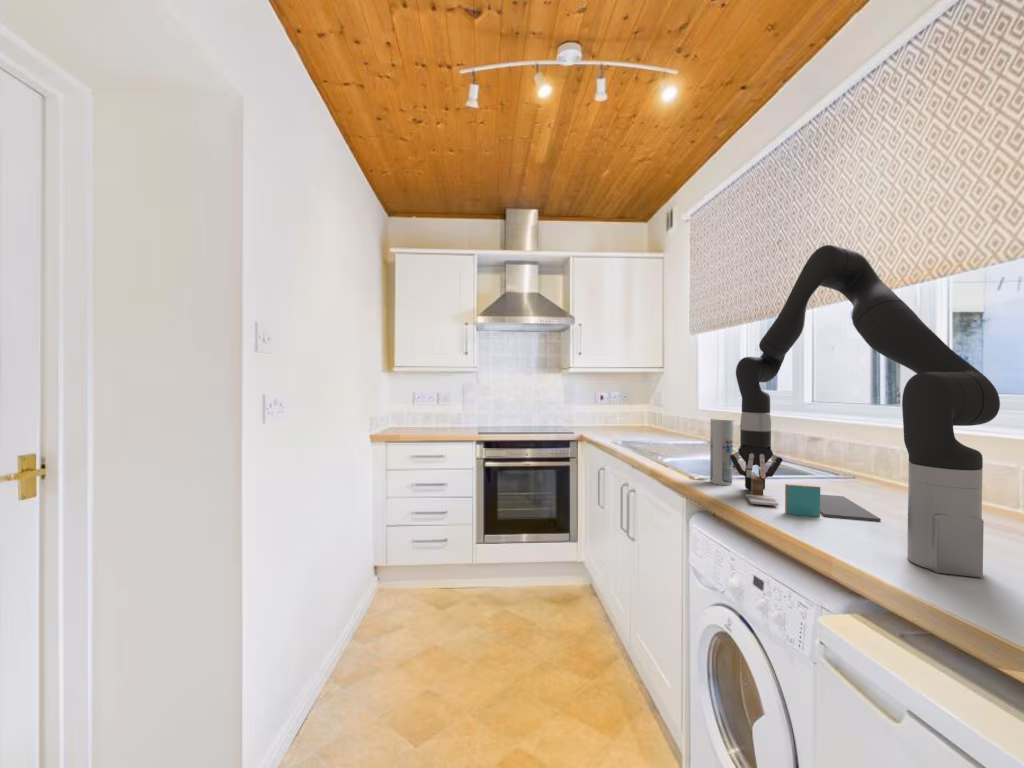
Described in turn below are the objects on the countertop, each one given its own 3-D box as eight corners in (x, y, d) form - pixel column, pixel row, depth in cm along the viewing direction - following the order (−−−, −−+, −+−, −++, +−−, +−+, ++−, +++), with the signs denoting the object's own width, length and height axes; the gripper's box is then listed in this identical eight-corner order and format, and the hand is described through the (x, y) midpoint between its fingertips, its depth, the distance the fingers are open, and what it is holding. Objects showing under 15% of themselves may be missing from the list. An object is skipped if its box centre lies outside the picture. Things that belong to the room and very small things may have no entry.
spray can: (715, 480, 147) (715, 417, 147) (736, 483, 142) (736, 419, 142) (706, 482, 142) (706, 418, 142) (727, 486, 138) (728, 420, 138)
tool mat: (880, 521, 104) (880, 518, 104) (824, 516, 107) (824, 514, 107) (843, 498, 125) (843, 496, 125) (797, 494, 128) (797, 492, 128)
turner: (738, 486, 135) (738, 471, 135) (761, 488, 133) (761, 472, 133) (751, 503, 116) (751, 486, 116) (778, 505, 114) (778, 487, 114)
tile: (820, 517, 107) (820, 487, 107) (786, 514, 109) (786, 484, 109) (818, 515, 108) (818, 486, 108) (784, 512, 110) (785, 483, 110)
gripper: (730, 428, 126) (729, 491, 126) (787, 431, 121) (786, 496, 121) (726, 426, 133) (725, 486, 133) (780, 428, 129) (779, 490, 128)
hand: (754, 490), depth 127 cm, fingers closed on turner, 2 cm apart
